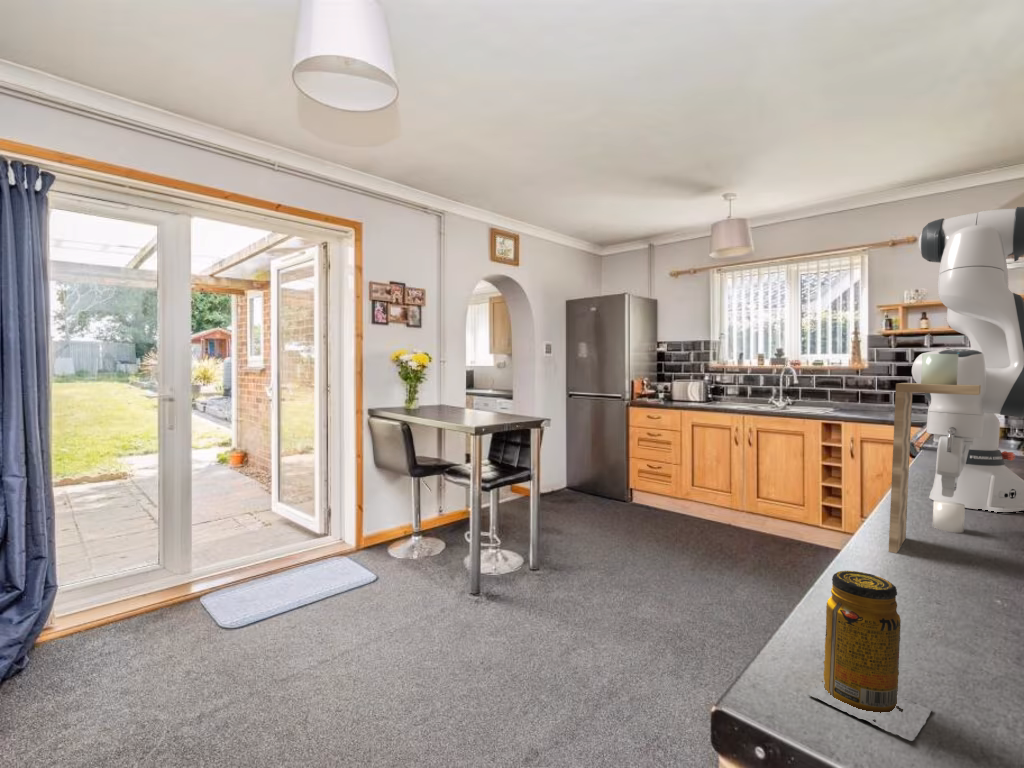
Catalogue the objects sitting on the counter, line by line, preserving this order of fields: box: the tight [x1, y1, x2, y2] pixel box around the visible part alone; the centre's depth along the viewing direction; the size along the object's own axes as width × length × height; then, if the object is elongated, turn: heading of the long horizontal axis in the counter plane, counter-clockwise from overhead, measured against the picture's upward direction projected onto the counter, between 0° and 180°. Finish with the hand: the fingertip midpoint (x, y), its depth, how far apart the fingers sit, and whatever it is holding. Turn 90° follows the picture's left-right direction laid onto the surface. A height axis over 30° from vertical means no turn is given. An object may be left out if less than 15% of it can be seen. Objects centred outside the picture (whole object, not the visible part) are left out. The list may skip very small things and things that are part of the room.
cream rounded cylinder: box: [932, 500, 966, 534], centre depth 107 cm, size 5×5×5 cm
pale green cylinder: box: [921, 353, 959, 385], centre depth 92 cm, size 5×5×5 cm
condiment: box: [823, 570, 902, 713], centre depth 50 cm, size 7×8×12 cm
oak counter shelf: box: [888, 382, 981, 554], centre depth 93 cm, size 12×11×30 cm
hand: (949, 493), depth 107 cm, fingers open, 8 cm apart
